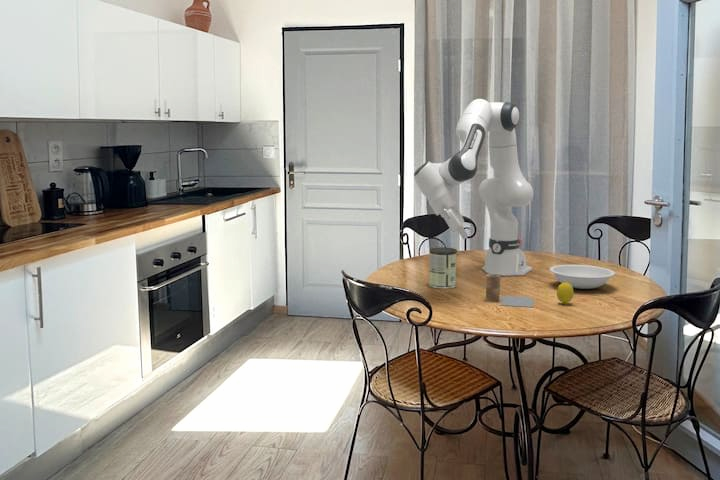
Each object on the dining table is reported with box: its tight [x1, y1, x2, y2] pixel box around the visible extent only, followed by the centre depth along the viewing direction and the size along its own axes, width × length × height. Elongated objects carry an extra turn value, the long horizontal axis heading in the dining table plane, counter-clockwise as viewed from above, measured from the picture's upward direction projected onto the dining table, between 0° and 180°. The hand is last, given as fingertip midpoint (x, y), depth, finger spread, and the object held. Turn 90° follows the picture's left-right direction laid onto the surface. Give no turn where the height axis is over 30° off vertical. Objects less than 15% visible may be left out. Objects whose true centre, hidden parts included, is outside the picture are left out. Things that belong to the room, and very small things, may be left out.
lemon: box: [556, 282, 574, 305], centre depth 261 cm, size 6×6×8 cm
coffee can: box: [428, 246, 458, 290], centre depth 287 cm, size 10×10×14 cm
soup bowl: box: [549, 264, 616, 290], centre depth 287 cm, size 24×24×7 cm
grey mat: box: [499, 295, 534, 308], centre depth 264 cm, size 11×14×1 cm
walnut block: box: [485, 273, 501, 303], centre depth 266 cm, size 4×4×9 cm
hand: (466, 237), depth 266 cm, fingers closed
